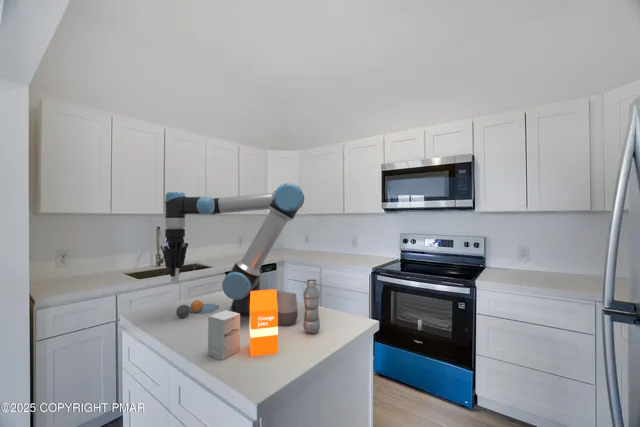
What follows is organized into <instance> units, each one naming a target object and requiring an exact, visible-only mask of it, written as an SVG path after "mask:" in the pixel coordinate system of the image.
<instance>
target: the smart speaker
mask: <svg viewBox="0 0 640 427" xmlns="http://www.w3.org/2000/svg"><path fill="white" fill-rule="evenodd" d="M276 294H277V307H278V325H281V326H285V327H286V326H292V325H294V324H295V323H296V322H297V320H298V316H299V315H298V314H299V312H298V309H299V308H298V302H297V293H295V292H290V291H282V290H276Z"/></svg>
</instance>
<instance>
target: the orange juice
mask: <svg viewBox="0 0 640 427" xmlns="http://www.w3.org/2000/svg"><path fill="white" fill-rule="evenodd" d="M278 325H279V324H278V307H277V289H276V288H274V289H260V290H258V291H251V292H250V316H249V352H250V357H257V356H263V355H271V354H278V353H279V343H278V342H279V326H278Z"/></svg>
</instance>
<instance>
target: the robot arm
mask: <svg viewBox="0 0 640 427" xmlns="http://www.w3.org/2000/svg"><path fill="white" fill-rule="evenodd" d="M304 202H305V194H304V192H303V190H302V187H300V186H299V185H298V184H295V183H292V182H285V183H283V184H280V185H279V186H277V188H276V189H275V190H274V191H272V192H271V193H269V192H268V193H259V194H249V195H237V196H236V195H235V196H227V197H226V196H225V197H214V198H213V197H211V196H186V193H185V192H181V191H167V192H166V194H165V200H164V204H165V215H164V216H165V222H164V225H165V230H164V232H165V233H164V235H165V236H164V238H166V241H165V244H163V245H160V249H161V251H162V255H163V259H164V265H165V268H166V269H169V273H170V284H171V285H179V283H180V273H181V271H180V270H181V269H182V268H183V266H184V265H185V259H186V255H187V249H188V247H189V243H187V242H185V239H184V238H185V237H186V229H185V227H186V215H209V216H212V215H220V214H231V213H241V212H242V213H243V212H244V213H245V212H252V211H254V212H255V211H264V210H265V211H266V210H269V212H268V214H267V216H266V217H265V219H264V221H263V223H262V224H261V225H260V227H259V229H258V231H257V233H256V235H255V236H254V238H253V239H252V241H251V243H250V245H249V246H248V248H247V250H246V252H245V253H244V254H243V257H242V259H238V260H236V262H235V263H234V264H233V266H232V268H231V270H230V271H229V273H228V274H226V276H225V277H224V278H223V280H222V284H221V286H222V288H221V289H222V291H223V293H224V295H225V296H226V297H228V298H229V299H231V300H232V303H231V306H230V311H231V312H236V313H239V314H240V317H250V292H251V291H258V290H261V274H262V273H261V267H262V266H263V264H264V262H265V261H266V259H267V257H268V255H269V254H270V251H272V249H273V247H274V245H275V244H276V242H277V240H278V238H279V237H280V235H281V234H282V231H283V229H284V228H285V226H286V224H287V222H289V221H292V220H294V217H296V214H297V213H298V211H299V210H300V209H301V208H302V207H303V206H304Z"/></svg>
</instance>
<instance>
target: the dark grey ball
mask: <svg viewBox="0 0 640 427" xmlns="http://www.w3.org/2000/svg"><path fill="white" fill-rule="evenodd" d="M176 308H177V309H176V311H175V314H176V316H177V317H178V318H183V319H184V318H186V317H187V316H189V314H191V313H190V306H189V305H188V304H181V305H179V306H178V307H176Z"/></svg>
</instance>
